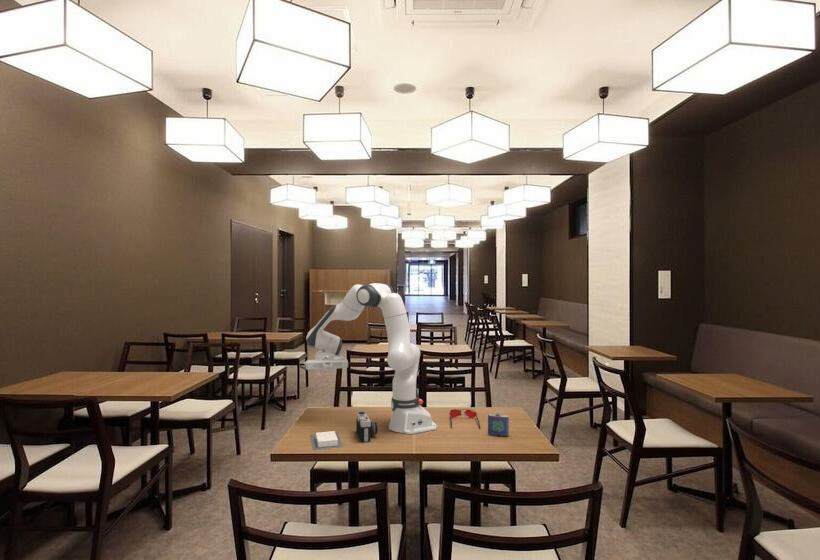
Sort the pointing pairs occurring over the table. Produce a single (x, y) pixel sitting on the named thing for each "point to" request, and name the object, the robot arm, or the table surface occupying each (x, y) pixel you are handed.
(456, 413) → the glasses
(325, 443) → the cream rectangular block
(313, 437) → the mat
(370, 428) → the camera
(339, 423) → the table surface
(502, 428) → the flask
